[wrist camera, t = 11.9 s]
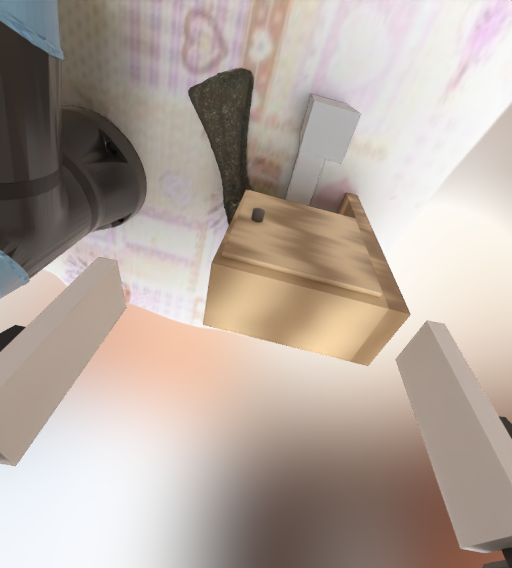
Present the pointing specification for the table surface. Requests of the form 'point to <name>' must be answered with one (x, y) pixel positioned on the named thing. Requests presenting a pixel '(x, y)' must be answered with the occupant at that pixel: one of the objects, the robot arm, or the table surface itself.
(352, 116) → the gray stepped block
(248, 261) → the wall cabinet
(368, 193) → the table surface
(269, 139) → the table surface
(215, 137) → the tool
